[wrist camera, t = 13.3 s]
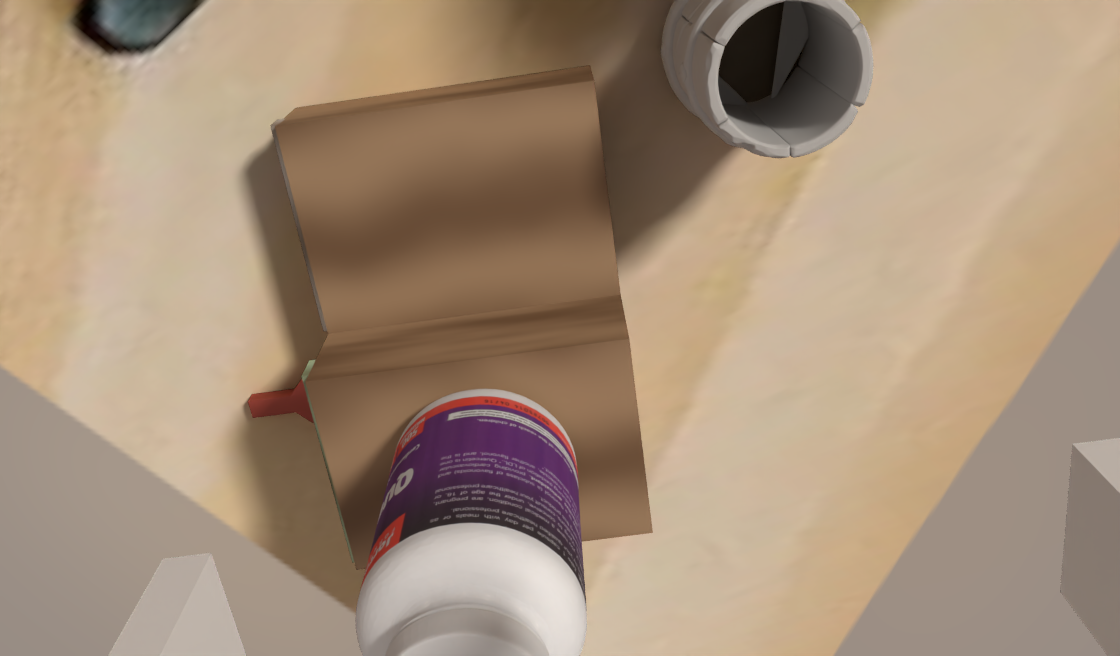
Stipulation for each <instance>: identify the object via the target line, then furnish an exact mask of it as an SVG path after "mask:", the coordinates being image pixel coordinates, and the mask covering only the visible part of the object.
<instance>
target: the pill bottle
mask: <svg viewBox="0 0 1120 656" xmlns="http://www.w3.org/2000/svg"><path fill="white" fill-rule="evenodd" d="M586 611H587V609H586V596H585V582H584V569H583V555H582V540H581V525H580V507H579V488H578V470H577V463H576V456H575V452H574V449H573V446H572V444H571V441H570V439H569V437H568V435H567V433H566V432H565V430H564V429H563V427H562V426H561V424H560V423H559V422H558V421H557V419H556V418H555V417H554V416H553V415H551V414H550V413H549V412H548V411H547V410H546V409H544V408H543V407H542V406H540V405H539V404H537V403H536V402H534V401H532V400H530V399H528V398H526V397H524V396H521V395H519V394H516V393H512V392H508V391H504V390H498V389H473V390H466V391H460V392H456V393H453V394H450V395H447V396H445V397H442V398H440V399H438V400H436V401H434V402H433V403H431V404H429V405H428V406H427V407H425V408H424V409H423V410H421V411H420V412H419V413H418V414H417V415H416V416H415V417H414V418H413V419H412V420H411V421H410V423H409V424H408V425H407V427H406V428H405V430H404V432H403V434H402V435H401V437H400V439H399V442H398V444H397V447H396V451H395V454H394V458H393V462H392V466H391V470H390V474H389V479H388V483H387V487H386V491H385V495H384V499H383V503H382V507H381V511H380V515H379V518H378V523H377V527H376V530H375V535H374V539H373V543H372V547H371V551H370V555H369V559H368V563H367V567H366V571H365V575H364V579H363V582H362V586H361V590H360V594H359V599H358V603H357V608H356V633H357V639H358V643H359V646H360V650H361V652H362V655H363V656H580V654H581V651H582V648H583V645H584V642H585V636H586V628H587V615H586Z"/></svg>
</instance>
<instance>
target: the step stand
mask: <svg viewBox="0 0 1120 656" xmlns="http://www.w3.org/2000/svg"><path fill="white" fill-rule="evenodd" d="M270 126H271V130H272V134H273V137H274V141H275V145H276V149H277V153H278V157H279V161H280V165H281V168H282V172H283V176H284V180H285V184H286V188H287V192H288V196H289V199H290V203H291V207H292V211H293V215H294V219H295V223H296V226H297V230H298V234H299V238H300V242H301V246H302V250H303V254H304V257H305V261H306V265H307V269H308V273H309V277H310V281H311V285H312V288H313V292H314V296H315V300H316V304H317V308H318V312H319V315H320V319H321V323H322V327H323V331H327V332H328V335H327V337H326V339H325V342H324V344H323V346H322V348H321V350H320V352H319V354H318V356H317V358H316V360H309V362H308V364H307V366H306V368H305V370H304V372H303V374H302V376H301V377H302V379H301V380H300V382H299V383H298V384H297V386H296V387H295V388H294V389H288V390H281V391H273V392H266V393H258V394H252V395H251V397H250V399H249V400H248V403H249V407H250V410H251V413H252V417H253V418H256V417H264V416H271V415H279V414H287V413H294V412H296V413H297V414H299V415H301V416H302V417H304V418H306V419H307V420H309V421H311V422H312V423H314V424H315V428H316V431H317V435H318V439H319V442H320V446H321V450H322V453H323V457H324V461H325V464H326V468H327V471H328V475H329V479H330V482H331V486H332V490H333V493H334V497H335V501H336V504H337V508H338V512H339V515H340V519H341V523H342V526H343V530H344V534H345V537H346V541H347V544H348V548H349V552H350V555H351V559H352V563H353V562H355V566H356V570H358V569H366V567H367V563H368V559H369V555H370V551H371V547H372V543H373V539H374V535H375V530H376V527H377V523H378V518H379V515H380V511H381V507H382V503H383V499H384V495H385V491H386V487H387V483H388V479H389V474H390V470H391V466H392V462H393V458H394V454H395V451H396V447H397V444H398V442H399V439H400V437H401V435H402V434H403V432H404V430H405V428H406V427H407V425H408V424H409V423H410V421H411V420H412V419H413V418H414V417H415V416H416V415H417V414H418V413H419V412H420V411H421V410H423V409H424V408H425V407H427V406H428V405H429V404H431V403H433V402H434V401H436V400H438V399H440V398H442V397H445V396H447V395H450V394H453V393H456V392H460V391H466V390H473V389H498V390H504V391H508V392H512V393H516V394H519V395H521V396H524V397H526V398H528V399H530V400H532V401H534V402H536V403H537V404H539V405H540V406H542V407H543V408H544V409H546V410H547V411H548V412H549V413H550V414H551V415H553V416H554V417H555V418H556V419H557V421H558V422H559V423H560V424H561V426H562V427H563V429H564V430H565V432H566V433H567V435H568V437H569V439H570V441H571V444H572V446H573V449H574V452H575V456H576V463H577V470H578V488H579V507H580V525H581V540H582V541H590V540H598V539H606V538H614V537H622V536H630V535H638V534H646V533H653V531H652V523H651V515H650V507H649V498H648V490H647V482H646V474H645V465H644V457H643V449H642V441H641V432H640V424H639V416H638V408H637V400H636V391H635V383H634V375H633V367H632V358H631V350H630V342H629V336H628V330H627V325H626V320H625V315H624V310H623V305H622V300H621V295H620V287H619V278H618V270H617V262H616V254H615V246H614V238H613V230H612V221H611V213H610V205H609V197H608V189H607V181H606V173H605V164H604V156H603V148H602V140H601V132H600V124H599V116H598V107H597V99H596V91H595V83H594V78H593V74H592V71H591V67H590V66H583V67H576V68H569V69H562V70H555V71H548V72H541V73H534V74H527V75H520V76H513V77H506V78H500V79H493V80H486V81H479V82H472V83H465V84H458V85H451V86H444V87H437V88H430V89H423V90H416V91H409V92H403V93H396V94H389V95H382V96H375V97H368V98H361V99H354V100H347V101H340V102H333V103H326V104H319V105H312V106H306V107H299V108H295V109H294V110H293V111H292V112H291V113H289V114H288V115H287V116H286V117H285V118H284V119H278V120H276V121H275V122H274V123H273V124H271V125H270Z"/></svg>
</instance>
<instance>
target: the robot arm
mask: <svg viewBox="0 0 1120 656" xmlns="http://www.w3.org/2000/svg"><path fill="white" fill-rule="evenodd" d="M1060 592H1061V593H1062V595H1063V596H1064V597H1065V599H1066V600H1067V602H1068V603H1069V604H1070V606H1071V607H1072V608H1073V610H1074V611H1075V612H1076V613H1077V615H1078V616H1079V618H1080V619H1081V620H1082V622H1083V623H1084V624H1085V626H1086V627H1087V629H1088V630H1089V631H1090V633H1091V634H1092V635H1093V637H1094V638H1095V639H1096V641H1097V642H1098V643H1099V645H1100V646H1101V648H1102V649H1103V650H1104V652H1105V653H1106V654H1107V656H1120V438H1115V439H1108V440H1100V441H1092V442H1084V443H1076V444H1072V455H1071V467H1070V479H1069V491H1068V503H1067V515H1066V527H1065V539H1064V551H1063V564H1062V576H1061V588H1060ZM108 656H246V653H245V650H244V647H243V644H242V641H241V638H240V635H239V632H238V630H237V627H236V624H235V621H234V618H233V615H232V612H231V609H230V606H229V603H228V600H227V597H226V595H225V592H224V589H223V586H222V583H221V580H220V577H219V574H218V571H217V569H216V565H215V562H214V560H213V557H212V554H211V553H207V554H199V555H192V556H183V557H175V558H167V559H163V560H162V561H161V563H160V565H159V567H158V568H157V570H156V572H155V574H154V575H153V578H152V579H151V581H150V583H149V585H148V586H147V588H146V590H145V591H144V593H143V595H142V597H141V598H140V600H139V602H138V604H137V606H136V608H135V609H134V611H133V613H132V614H131V616H130V618H129V620H128V621H127V623H126V625H125V627H124V629H123V630H122V632H121V634H120V636H119V638H118V639H117V641H116V643H115V644H114V646H113V648H112V650H111V652H110V653H109V655H108Z"/></svg>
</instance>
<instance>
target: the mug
mask: <svg viewBox="0 0 1120 656" xmlns="http://www.w3.org/2000/svg"><path fill="white" fill-rule="evenodd" d="M780 2H784V7H783V15H782V22H781V29H780V36H779V44H778V51H777V58H776V66H775V73H774V80H773V88H772V94H770V95H769V96H767V97H765V98H763V99H761V100H758V101H754V102H748V103H747V102H746V101H745V100H744V99H743V98H742V97H741V96H740V95H739V94H737V93H736V92H735V91H734V90H733V89H732V88H731V87H730V86H729V85H728V84H727V83H726V82H725V81H724V80H723V79H722V78H721V77H720V76H719V75H718V72H719V65H720V61H721V57H722V54H723V51H724V46H725V45H726V44H727V43H728V41H729V40H730V38H731V37H732V35H733V34H734V33H735V31H736V30H737V29H738V28H739V27H740V26H741V25H742V24H743V23H744V22H745V21H746V20H747V19H748V18H750V17H751V16H753V15H754V14H756V13H757V12H759V11H760V10H762V9H764V8H766V7H768V6H771V5H773V4H777V3H780ZM860 21H861V20H860V18H859V17H858V15H857V14H856V13H855V12H854V11H853V10H852V9H851V8H850V7H849V6H848V5H847V4H846V2H845V1H844V0H674V2H673V4H672V6H671V8H670V10H669V13H668V15H667V18H666V21H665V25H664V29H663V35H662V47H661V57H662V59H663V65H664V70H665V73H666V76H667V79H668V81H669V84H670V86H671V88H672V90H673V91H674V93H675V95H676V96H677V97H678V99H679V100H680V101H681V102H682V104H683V105H684V106H685V107H686V108H687V110H688V111H689V112H691V113H692V114H694V115H695V116H697V117H698V118H700V119H701V120H702V121H703V123H704V124H705V125H706V126H707V127H708V128H709V129H710V130H711V131H712V132H714V133H715V134H716V135H717V136H719V137H720V138H721V139H722V140H723V141H724V142H725V143H727V144H729V145H731V146H735V147H740V148H744V149H746V150H748V151H750V152H752V153H754V154H757V155H760V156H765V157H772V158H786V157H789V156H791V157H800V156H803V155H807V154H810V153H812V152H815V151H817V150H819V149H821V148H823V147H825V146H826V145H828V144H830V143H831V142H833V141H834V140H835V139H837V138H838V137H839V136H840V135H841V134H842V133H844V132H845V131H846V129H847V128H848V127H849V126H850V125H851V124H852V122H853V120H854V118H855V116H856V114H857V112H858V111H857V109H856V107H855V106H858V107H860V106H862V105H864V104H865V101H866V99H867V96H868V93H869V90H870V87H871V83H872V77H873V55H872V48H871V43H870V39H869V36H868V33H867V31H866V29H865V27H864V25H863V24H861V23H860ZM803 47H804V49H803ZM802 49H803V52H802V55H801V58H800V60H799V62H798V66H797V67H796V68H795V69H794V71H793V73H792V74H791V76H790V77H789V79H788V80H787V81H786V82H785V83H784V81H785V79H786V78H787V76H788V74H789V72H790V70H791V69H792V67H793V65H794V63H795V62H796V60H797V58H798V56H799V54H800V53H801V51H802ZM783 83H784V84H783ZM854 105H855V106H854Z"/></svg>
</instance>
